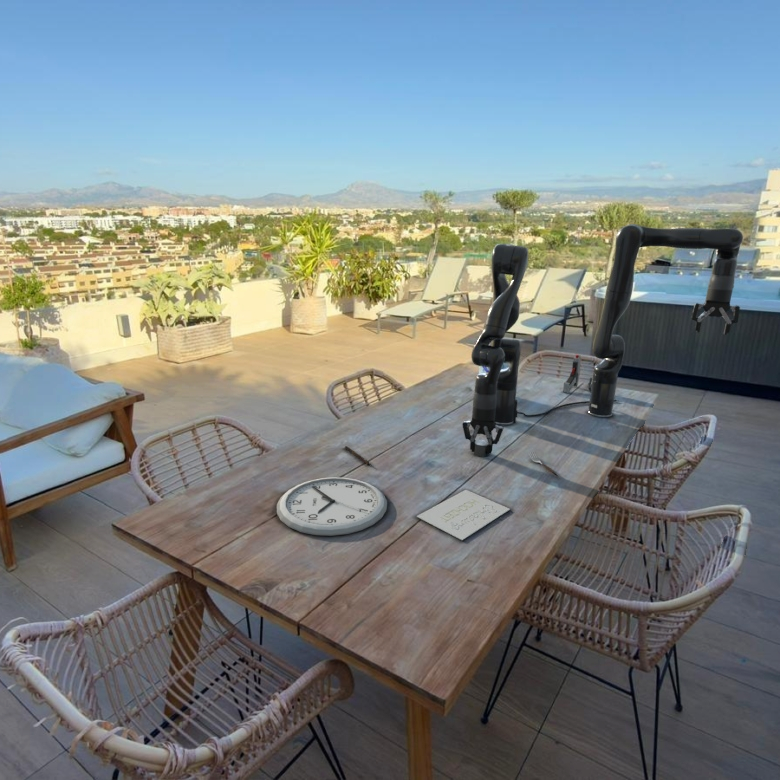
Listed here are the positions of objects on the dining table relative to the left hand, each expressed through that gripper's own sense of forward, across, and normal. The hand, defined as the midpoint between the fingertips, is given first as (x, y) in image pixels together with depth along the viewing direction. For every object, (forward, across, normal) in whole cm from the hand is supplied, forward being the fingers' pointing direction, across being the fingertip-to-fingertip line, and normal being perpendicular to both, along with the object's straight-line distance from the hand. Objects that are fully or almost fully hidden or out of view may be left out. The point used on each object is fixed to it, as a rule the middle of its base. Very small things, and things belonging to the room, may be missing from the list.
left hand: (480, 452), depth 177 cm
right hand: (-38, +68, +55) cm, 96 cm away
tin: (+1, 0, 0) cm, 1 cm away
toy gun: (+1, +21, +92) cm, 94 cm away
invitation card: (+1, +5, -40) cm, 41 cm away
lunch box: (+1, -10, +60) cm, 61 cm away
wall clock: (+1, -29, -51) cm, 59 cm away
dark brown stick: (+1, -37, -20) cm, 42 cm away
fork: (+1, +21, -2) cm, 21 cm away
